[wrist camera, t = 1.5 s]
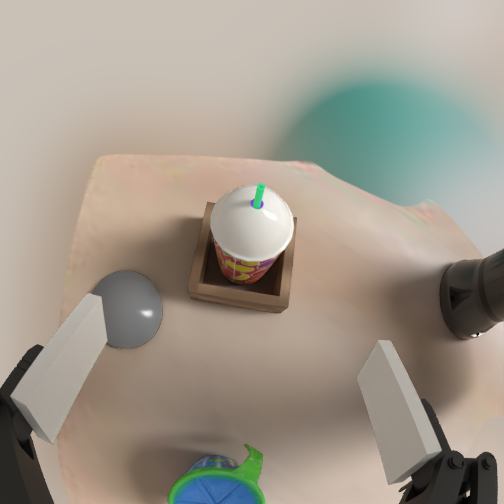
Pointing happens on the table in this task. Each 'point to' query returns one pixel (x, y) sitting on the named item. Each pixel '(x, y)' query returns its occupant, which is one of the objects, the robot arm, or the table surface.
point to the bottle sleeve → (234, 296)
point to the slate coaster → (129, 308)
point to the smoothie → (250, 231)
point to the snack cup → (220, 481)
